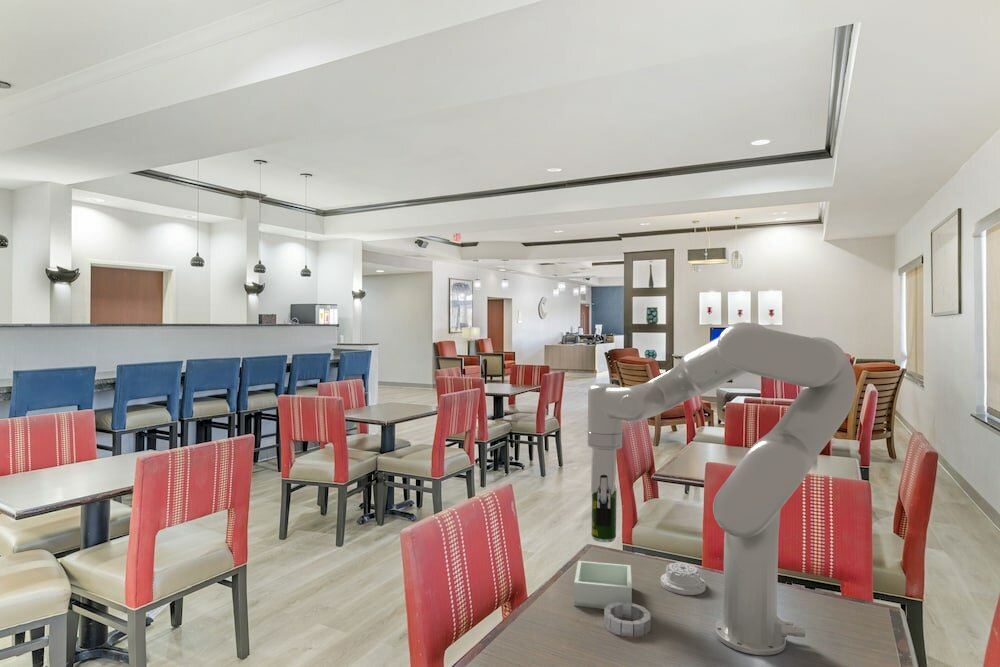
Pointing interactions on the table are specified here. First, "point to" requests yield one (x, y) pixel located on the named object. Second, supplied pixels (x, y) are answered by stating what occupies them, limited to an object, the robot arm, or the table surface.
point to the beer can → (601, 531)
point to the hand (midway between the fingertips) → (604, 520)
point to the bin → (602, 584)
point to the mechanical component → (683, 579)
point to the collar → (627, 627)
